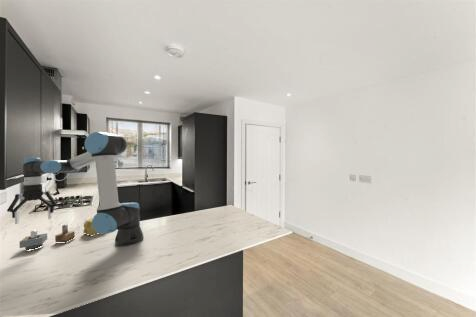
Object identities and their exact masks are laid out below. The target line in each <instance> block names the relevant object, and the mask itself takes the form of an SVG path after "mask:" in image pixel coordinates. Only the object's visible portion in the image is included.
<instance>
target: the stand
mask: <svg viewBox="0 0 476 317" xmlns="http://www.w3.org/2000/svg"><path fill="white" fill-rule="evenodd" d="M68 226H69V225H68V224H63V225H62V227H61V230H62V231H61V232H60V233H58V234H55V235H54V236H55V238H54V240H55V242H67V241H69V240H71V239H73V238H74V237H76V236H75V234H76V232H75V231H74V230H73V231H71V230H70V231H69V227H68ZM55 242H54V243H55Z"/></svg>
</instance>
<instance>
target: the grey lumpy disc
mask: <svg viewBox="0 0 476 317" xmlns="http://www.w3.org/2000/svg"><path fill="white" fill-rule="evenodd" d="M47 240H48V233H41V234H37V238H33V239H31V235H29V236H25V237H24V238H23V239H21V240H20V241H19V249H24V248H25V247H29V246H34V245H40V244H43V245H44V243H45V242H46V241H47Z"/></svg>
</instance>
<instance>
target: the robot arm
mask: <svg viewBox="0 0 476 317" xmlns="http://www.w3.org/2000/svg"><path fill="white" fill-rule="evenodd" d="M84 148H85V151H86V152H84V153H82V154H79V155H76V156H74V157H72V158H70V159H67V160H66V159H65V160H62V159H61V160H59V159H58V160H56V159H46V160H42V159H41V157H25V158H23V159H24V163H23V162H22V164H23V167H22V176H23V175H24V182H23V181H22V184H23V186H22V188H23V189H22V191H23V193H16V194H15V195H14V199H13V200H12V201H11V203H10V205H9V207H8V208H7V210H6V211H7V212H8V213H9V212H10V213H11V215H12V216H11V218H12V219H14V224H15V225H17V224H19V223H20V211H18V210H19V209H20V208H21V207H23V206H24V205H25V204H26V202H28V201H29V202H30V201H40V202H42V203H44V205H46V206H48V208H47V214H48V215H47V216H48V220H51V219H52V216H53V215H52V214H53V213H54V207H56V206H58V203H57V201H56V200H55V199H54V197H53V196H52V195H51V192H50V191H49V190H47V191H43V184H42V183H43V177H42V176H43V174H56V173H59V174H60V173H75V172H79V171H80V170H81V169H82V168H84V167H87V166H89V165H92V164H94V163H95V169H96V171H95V172H96V178H97V189H98V192H97V193H98V200H99V201H98V202H99V206H97V208H96V213H95V215H94V216H93V217H92V218H93V219H92V225H93V228H94V229H95V230H96V231H97V232H98V233H100V234H99V235H108V234H111V233H114V232H116V231H117V232H116V235H115V239H114V245H116V246H118V247H119V246H123V247H124V246H130V245H134V244H137V243H139V242H141V241H142V240H144V233H143V230H142V227H141V224H140V223H141V222H140V221H141V220H140V210H141V208H140V204H139V203H138V202H122V203H120V201H119V194H118V192H119V191H118V183H117V182H118V180H117V172H116V161H115V159H116V158H117V157H118V156H119V155H121V154H124V153H125V151H126V150H127V148H128V143H127V140H126V139H125V137H123V136H121V135H119V134H114V133H109V132H105V131H93V132H91V133H90V134H88V136H86V138H85V140H84ZM26 180H27V181H26ZM43 195H44V196H46V197H47V199H48V200H49V201H50V202H49V201H48V200H47V199H45V197H43ZM22 197H23V198H24V199H22V201H21V202H19V200H20V198H22ZM18 202H19V203H18ZM17 203H18V205H17Z"/></svg>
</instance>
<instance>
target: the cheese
mask: <svg viewBox="0 0 476 317" xmlns="http://www.w3.org/2000/svg"><path fill="white" fill-rule="evenodd" d="M93 218H94V217H91V218H89V219H88V220H86V221H85V222H84V224H83V228H84V229H83V234H84V233H86V234H89V235H94V234H97V233H98V232H97V231H96V230H95V229H94V228H93V225H92V219H93Z"/></svg>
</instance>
